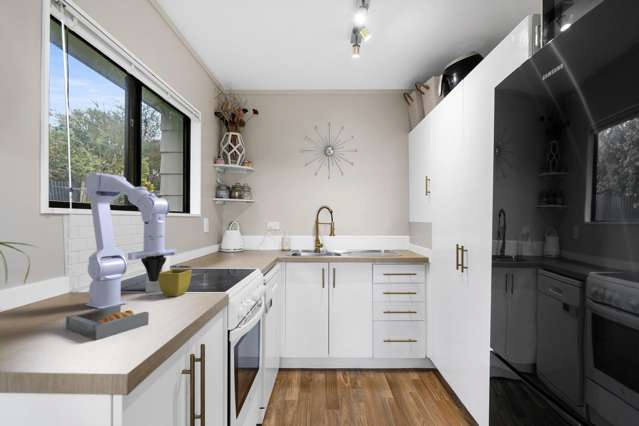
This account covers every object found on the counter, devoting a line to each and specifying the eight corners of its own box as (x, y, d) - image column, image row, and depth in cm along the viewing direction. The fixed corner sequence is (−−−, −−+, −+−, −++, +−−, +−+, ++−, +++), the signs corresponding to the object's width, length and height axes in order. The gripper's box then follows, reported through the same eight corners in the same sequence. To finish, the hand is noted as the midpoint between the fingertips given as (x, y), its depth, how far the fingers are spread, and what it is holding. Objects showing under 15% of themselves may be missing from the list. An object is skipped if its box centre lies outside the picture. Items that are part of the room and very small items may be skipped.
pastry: (98, 336, 76) (99, 320, 76) (87, 330, 80) (88, 315, 80) (138, 325, 84) (138, 311, 84) (126, 320, 88) (126, 307, 88)
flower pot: (156, 297, 113) (156, 272, 113) (171, 291, 122) (172, 269, 122) (178, 298, 111) (178, 273, 112) (191, 292, 120) (192, 269, 120)
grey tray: (65, 328, 80) (65, 316, 80) (117, 315, 92) (117, 304, 92) (96, 340, 73) (96, 326, 73) (148, 324, 84) (148, 312, 84)
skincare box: (154, 287, 128) (155, 250, 129) (170, 287, 129) (171, 250, 129) (144, 292, 120) (145, 252, 120) (162, 292, 121) (163, 252, 121)
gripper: (138, 238, 86) (137, 287, 85) (183, 236, 98) (182, 278, 98) (124, 237, 89) (123, 284, 89) (169, 235, 102) (168, 276, 102)
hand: (153, 281), depth 94 cm, fingers closed
